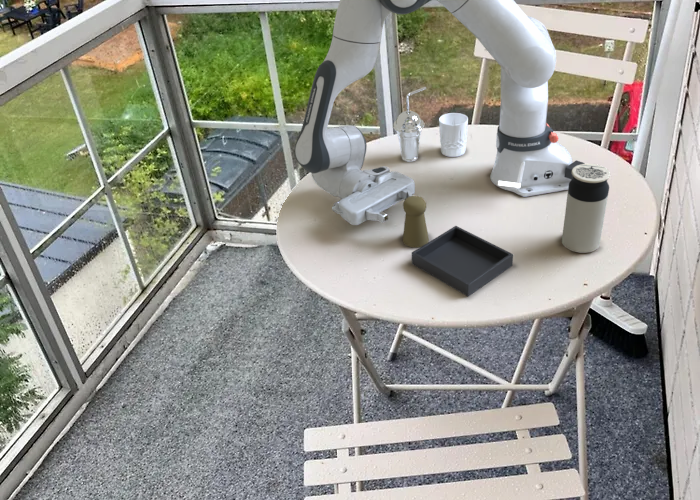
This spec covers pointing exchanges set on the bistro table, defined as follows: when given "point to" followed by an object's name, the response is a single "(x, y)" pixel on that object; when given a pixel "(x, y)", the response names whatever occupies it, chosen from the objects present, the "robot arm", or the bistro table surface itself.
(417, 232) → the olive pawn
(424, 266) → the bin
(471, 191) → the bistro table surface
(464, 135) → the white cup
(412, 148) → the cup with straw
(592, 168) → the travel mug
